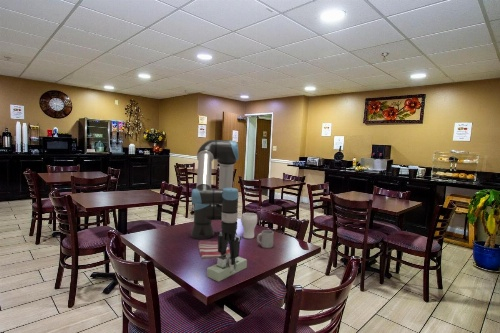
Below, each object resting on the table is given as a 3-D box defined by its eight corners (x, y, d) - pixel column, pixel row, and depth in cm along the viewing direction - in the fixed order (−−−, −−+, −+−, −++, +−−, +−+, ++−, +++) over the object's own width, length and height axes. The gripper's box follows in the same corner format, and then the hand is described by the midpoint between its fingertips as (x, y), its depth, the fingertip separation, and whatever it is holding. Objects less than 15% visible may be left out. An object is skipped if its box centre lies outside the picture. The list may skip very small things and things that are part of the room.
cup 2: (273, 248, 168) (274, 233, 167) (256, 247, 168) (257, 233, 167) (272, 244, 175) (273, 230, 174) (256, 243, 175) (257, 229, 174)
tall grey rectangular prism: (222, 274, 129) (223, 259, 129) (217, 272, 131) (217, 257, 131) (236, 267, 137) (237, 253, 137) (231, 265, 139) (231, 251, 139)
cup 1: (259, 237, 186) (260, 215, 185) (246, 240, 180) (247, 217, 179) (250, 233, 195) (251, 211, 194) (237, 235, 189) (238, 213, 188)
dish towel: (225, 243, 175) (225, 239, 174) (232, 258, 152) (233, 253, 152) (197, 244, 170) (197, 240, 170) (201, 260, 148) (201, 255, 147)
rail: (218, 281, 124) (218, 272, 124) (206, 276, 129) (207, 267, 129) (246, 267, 140) (246, 259, 140) (235, 263, 145) (235, 255, 144)
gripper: (210, 219, 135) (209, 266, 136) (237, 226, 125) (235, 277, 126) (221, 216, 141) (220, 262, 142) (248, 222, 131) (246, 272, 132)
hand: (227, 269), depth 134 cm, fingers open, 4 cm apart
